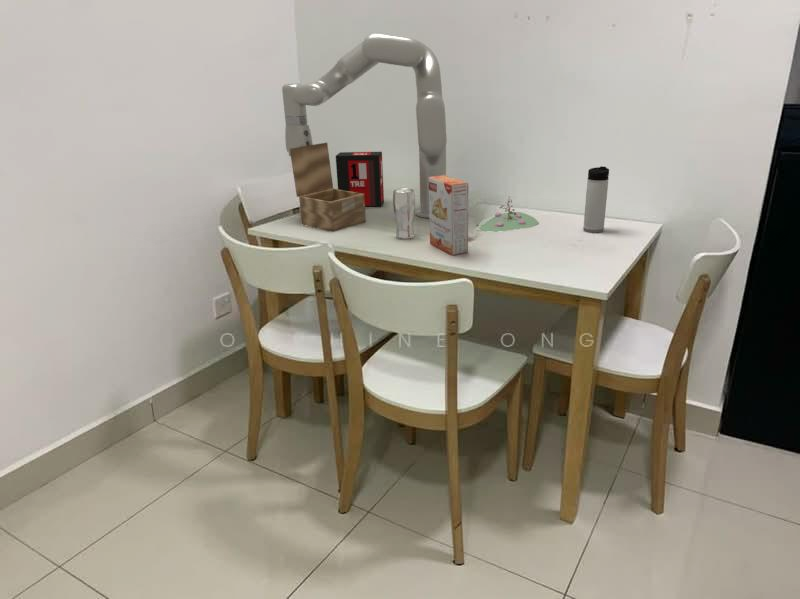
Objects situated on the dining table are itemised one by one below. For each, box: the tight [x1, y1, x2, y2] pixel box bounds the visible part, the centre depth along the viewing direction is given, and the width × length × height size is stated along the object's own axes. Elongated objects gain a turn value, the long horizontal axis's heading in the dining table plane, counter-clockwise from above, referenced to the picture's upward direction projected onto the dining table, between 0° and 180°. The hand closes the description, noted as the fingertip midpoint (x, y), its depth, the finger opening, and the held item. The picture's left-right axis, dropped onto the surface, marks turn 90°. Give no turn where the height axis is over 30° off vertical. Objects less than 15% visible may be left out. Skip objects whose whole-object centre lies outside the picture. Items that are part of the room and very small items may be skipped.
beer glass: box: [392, 187, 416, 240], centre depth 194 cm, size 7×7×15 cm
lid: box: [290, 142, 334, 198], centre depth 214 cm, size 16×16×1 cm
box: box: [298, 188, 367, 233], centre depth 213 cm, size 16×16×10 cm
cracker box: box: [428, 174, 469, 256], centre depth 179 cm, size 14×6×21 cm, turn 25°
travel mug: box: [583, 165, 610, 234], centre depth 192 cm, size 6×7×20 cm
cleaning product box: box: [335, 151, 385, 208], centre depth 236 cm, size 16×9×20 cm, turn 84°
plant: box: [479, 196, 539, 233], centre depth 206 cm, size 25×21×9 cm
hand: (301, 173), depth 219 cm, fingers closed
